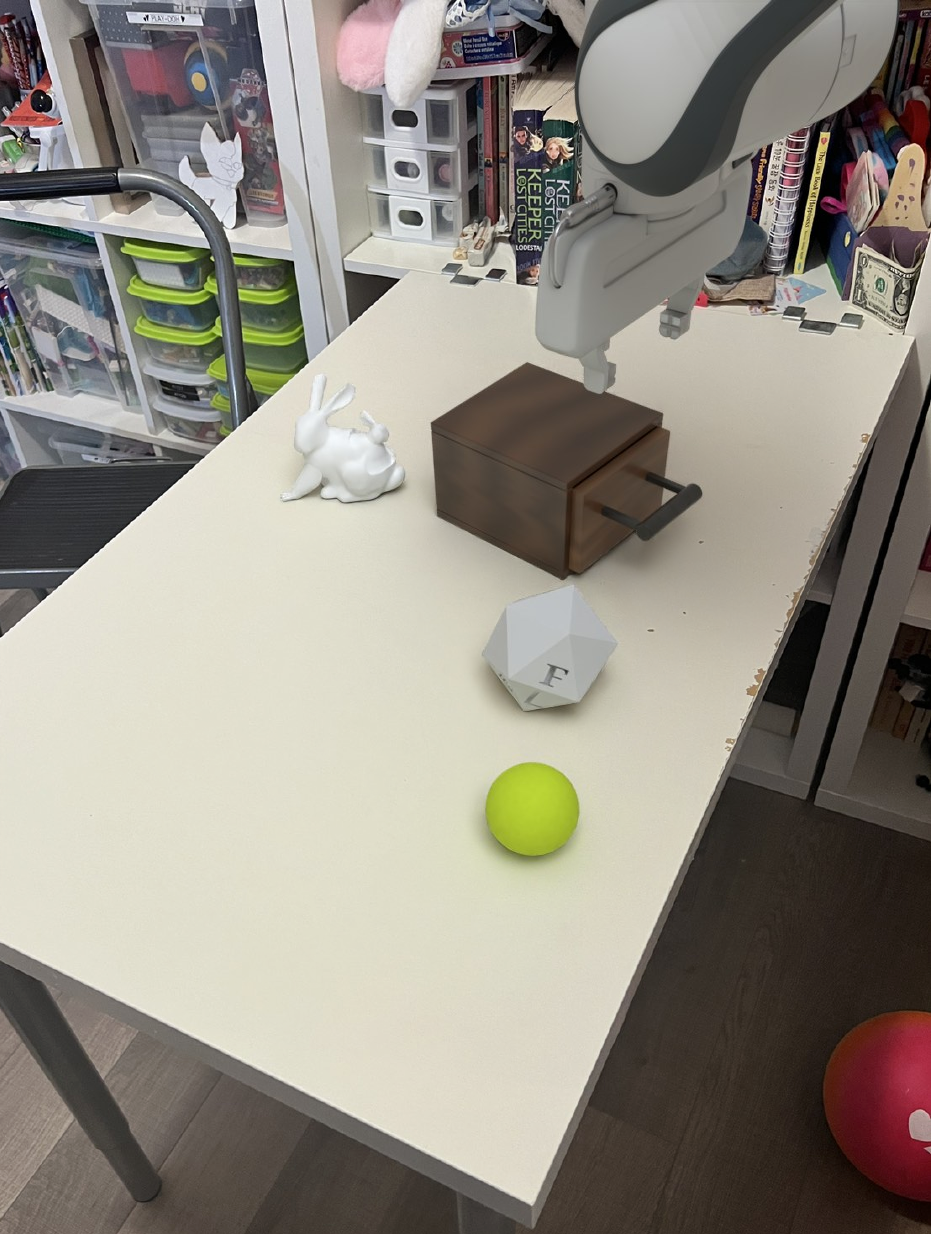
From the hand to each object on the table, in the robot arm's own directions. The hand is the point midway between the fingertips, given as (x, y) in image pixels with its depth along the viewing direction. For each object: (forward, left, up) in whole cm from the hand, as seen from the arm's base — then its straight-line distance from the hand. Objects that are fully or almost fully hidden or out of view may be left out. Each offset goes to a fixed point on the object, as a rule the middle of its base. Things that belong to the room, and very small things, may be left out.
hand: (637, 360), depth 77 cm
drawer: (+3, -1, -16) cm, 16 cm away
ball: (+5, +32, -14) cm, 35 cm away
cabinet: (+7, -4, -17) cm, 19 cm away
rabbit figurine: (+26, -8, -17) cm, 32 cm away
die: (+5, +18, -17) cm, 25 cm away
